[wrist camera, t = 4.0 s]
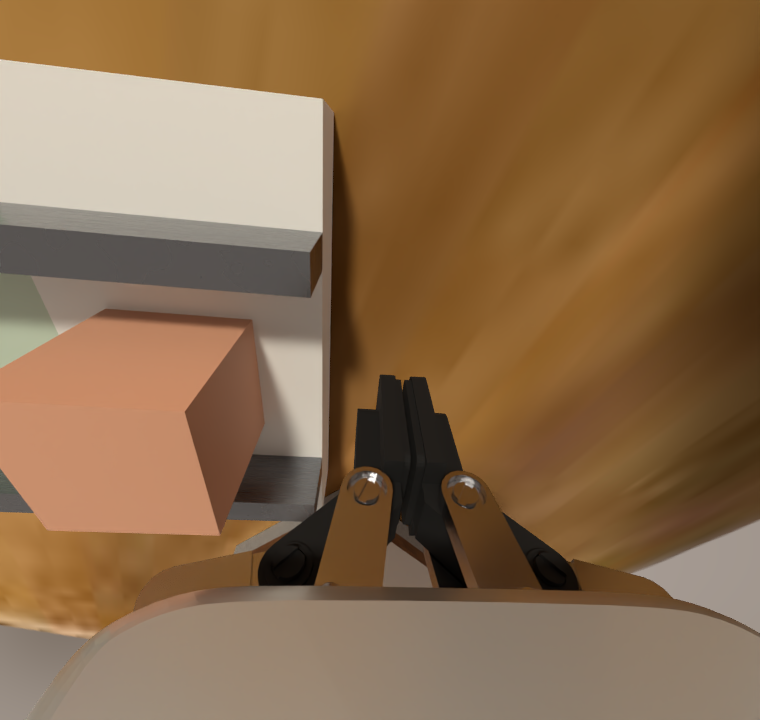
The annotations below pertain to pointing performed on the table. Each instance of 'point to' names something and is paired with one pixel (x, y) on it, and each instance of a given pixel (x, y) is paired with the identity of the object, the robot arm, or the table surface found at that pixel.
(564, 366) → the table surface
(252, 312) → the channel deck
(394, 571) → the display case
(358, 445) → the robot arm
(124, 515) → the terracotta block
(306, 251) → the channel walls
